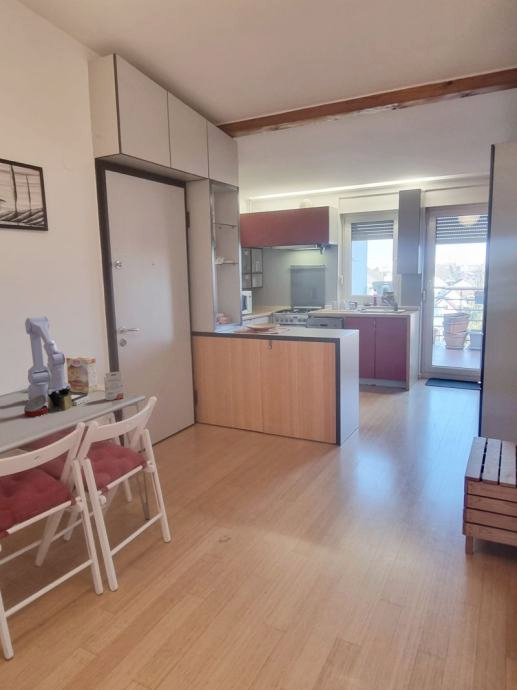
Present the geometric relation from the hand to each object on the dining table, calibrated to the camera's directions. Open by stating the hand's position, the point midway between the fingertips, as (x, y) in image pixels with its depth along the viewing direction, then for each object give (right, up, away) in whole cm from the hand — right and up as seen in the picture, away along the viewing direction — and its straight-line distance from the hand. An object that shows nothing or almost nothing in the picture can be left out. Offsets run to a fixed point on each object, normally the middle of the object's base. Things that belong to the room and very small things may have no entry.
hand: (59, 405), depth 222 cm
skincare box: (-21, +4, +43) cm, 48 cm away
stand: (+1, 0, +12) cm, 12 cm away
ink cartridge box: (+21, +1, +17) cm, 27 cm away
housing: (0, -2, 0) cm, 2 cm away
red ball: (-7, -3, -9) cm, 12 cm away
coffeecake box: (-2, +3, +34) cm, 34 cm away
